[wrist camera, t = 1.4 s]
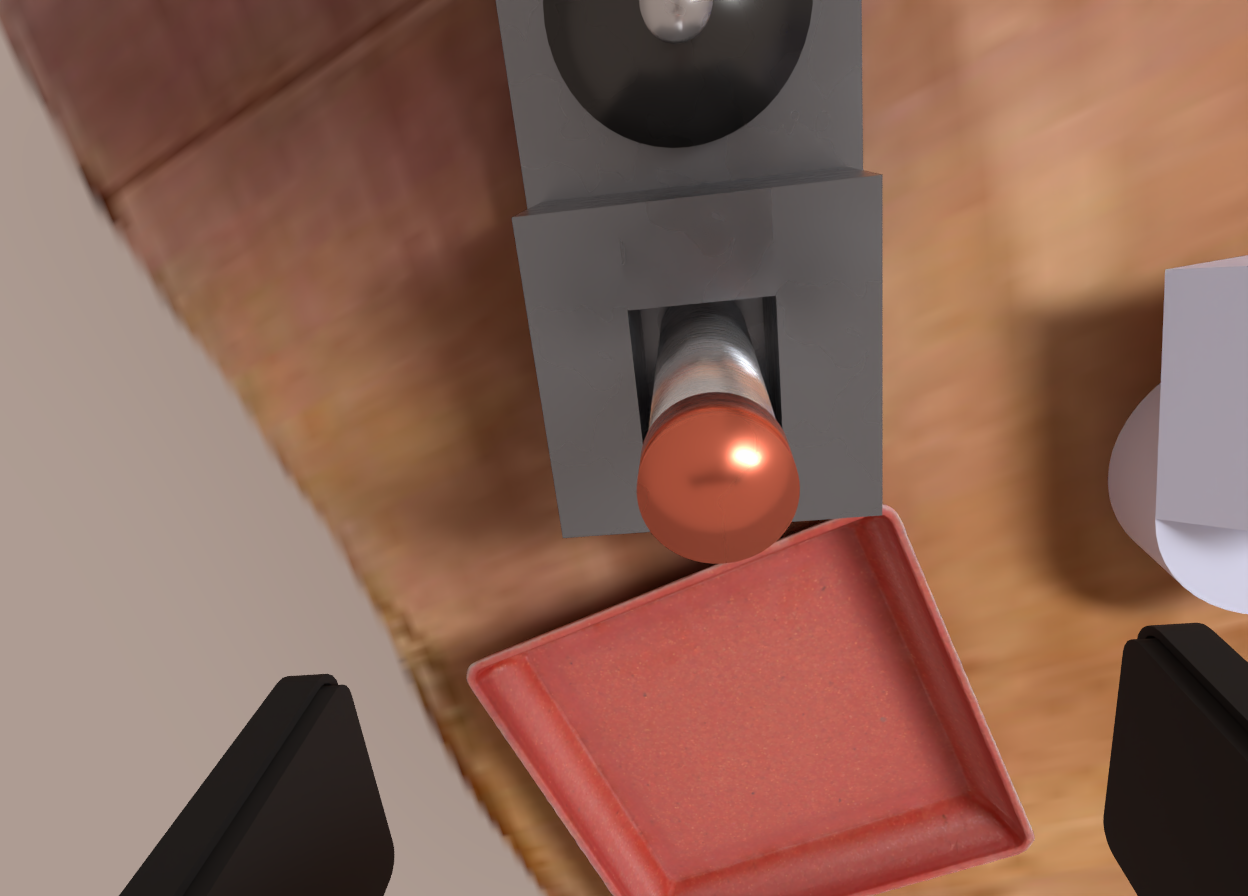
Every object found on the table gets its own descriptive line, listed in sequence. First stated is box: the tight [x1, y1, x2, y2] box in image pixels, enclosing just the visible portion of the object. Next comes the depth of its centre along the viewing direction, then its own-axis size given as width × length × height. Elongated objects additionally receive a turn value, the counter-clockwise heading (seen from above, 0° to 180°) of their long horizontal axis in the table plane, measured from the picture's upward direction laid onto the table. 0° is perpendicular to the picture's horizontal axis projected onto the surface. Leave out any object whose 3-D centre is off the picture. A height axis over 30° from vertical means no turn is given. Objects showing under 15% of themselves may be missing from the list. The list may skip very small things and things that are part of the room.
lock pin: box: [637, 300, 800, 564], centre depth 22 cm, size 3×3×13 cm
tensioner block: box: [496, 0, 882, 538], centre depth 25 cm, size 19×11×6 cm, turn 7°
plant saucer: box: [466, 504, 1035, 896], centre depth 34 cm, size 18×18×3 cm
